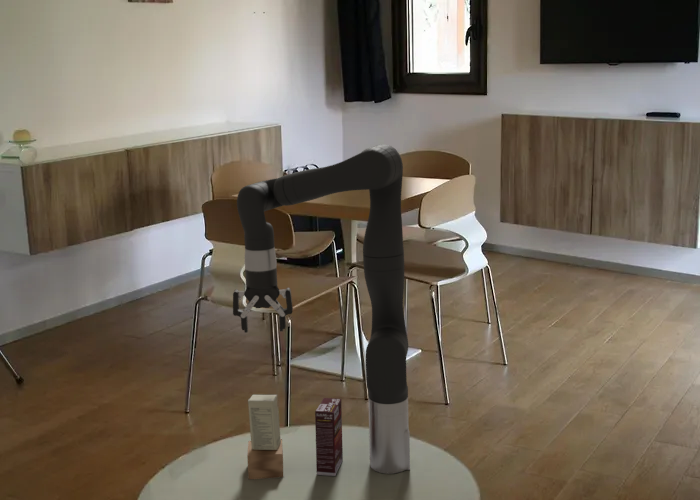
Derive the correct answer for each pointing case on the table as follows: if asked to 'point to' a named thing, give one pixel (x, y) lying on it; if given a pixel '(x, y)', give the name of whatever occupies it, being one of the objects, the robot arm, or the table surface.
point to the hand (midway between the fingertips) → (264, 331)
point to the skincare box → (264, 422)
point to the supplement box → (328, 436)
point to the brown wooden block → (265, 463)
